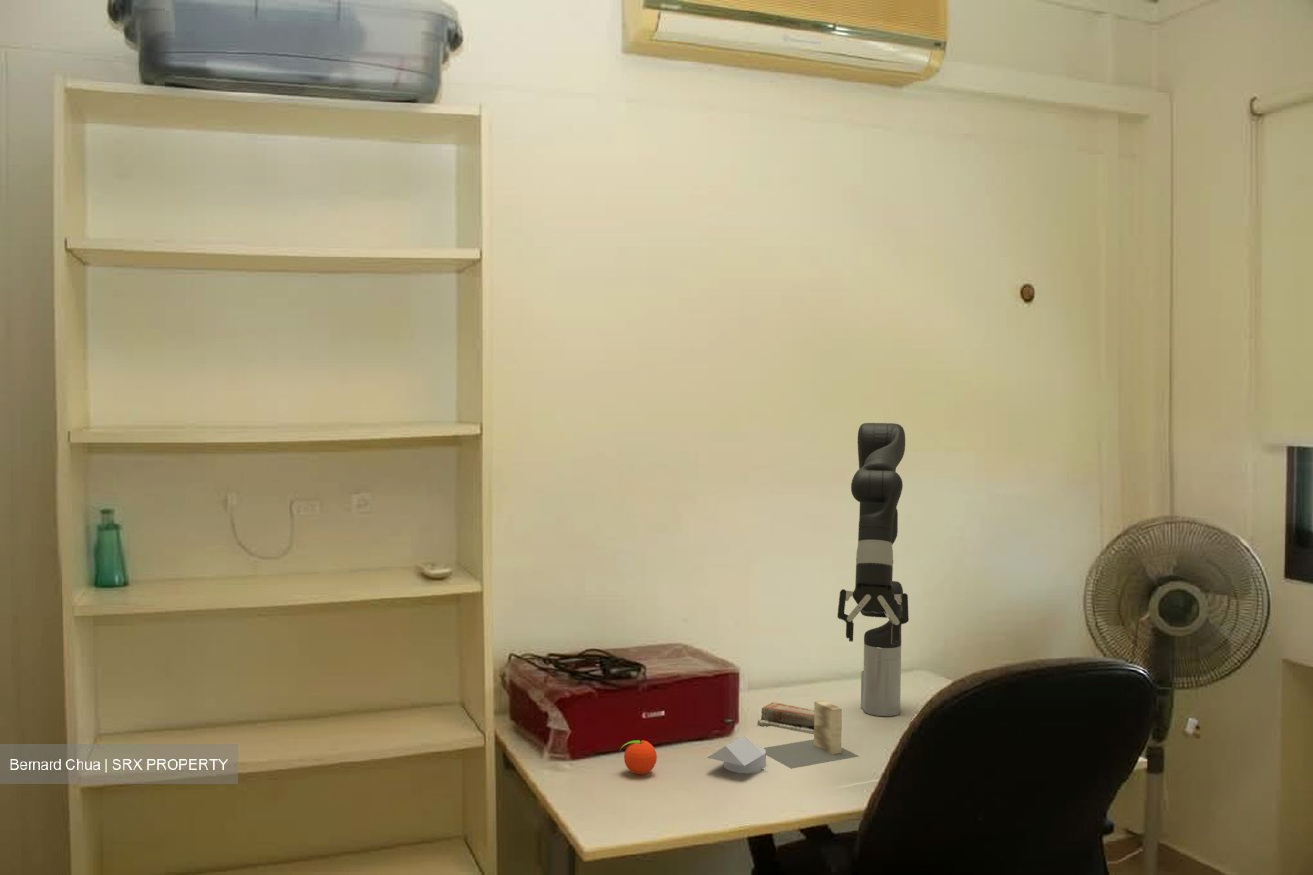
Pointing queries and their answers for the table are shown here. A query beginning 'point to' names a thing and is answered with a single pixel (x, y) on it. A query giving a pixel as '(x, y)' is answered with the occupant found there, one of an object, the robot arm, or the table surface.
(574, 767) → the table surface
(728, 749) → the wedge on round base
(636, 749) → the clementine
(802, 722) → the packaged product
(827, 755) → the mat
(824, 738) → the birch tile
